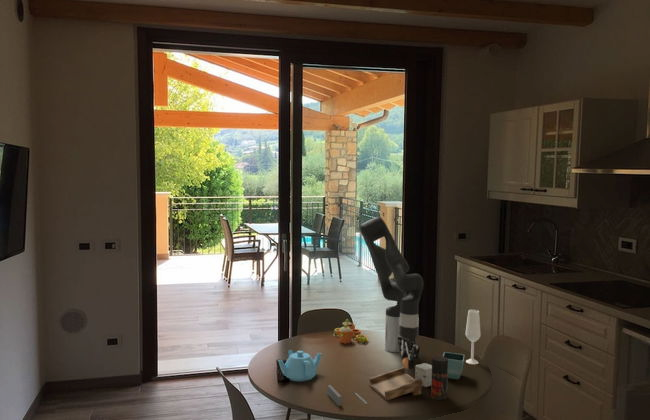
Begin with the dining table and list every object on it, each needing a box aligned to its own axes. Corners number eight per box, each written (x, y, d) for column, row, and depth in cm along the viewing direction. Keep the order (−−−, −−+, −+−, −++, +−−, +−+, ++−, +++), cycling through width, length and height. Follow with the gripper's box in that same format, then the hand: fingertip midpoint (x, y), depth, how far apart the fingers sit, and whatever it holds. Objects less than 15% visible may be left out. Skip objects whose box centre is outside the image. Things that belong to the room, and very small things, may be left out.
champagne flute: (463, 364, 230) (465, 312, 228) (465, 359, 236) (466, 308, 234) (479, 366, 227) (480, 313, 226) (480, 361, 233) (482, 310, 232)
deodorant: (429, 393, 197) (430, 356, 196) (444, 393, 197) (445, 355, 197) (433, 400, 191) (434, 361, 190) (449, 400, 192) (450, 361, 191)
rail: (330, 393, 196) (330, 384, 195) (341, 405, 185) (341, 396, 185) (327, 394, 195) (327, 385, 195) (338, 406, 185) (338, 396, 185)
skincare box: (414, 382, 208) (414, 365, 207) (424, 379, 211) (424, 362, 211) (425, 387, 203) (426, 369, 202) (435, 384, 206) (436, 366, 206)
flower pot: (464, 374, 217) (464, 354, 217) (462, 382, 209) (463, 361, 208) (443, 371, 220) (443, 351, 219) (441, 379, 212) (441, 358, 211)
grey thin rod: (351, 388, 201) (351, 387, 201) (368, 403, 187) (368, 403, 187) (349, 388, 201) (349, 388, 201) (365, 404, 187) (365, 403, 187)
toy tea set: (370, 345, 255) (371, 326, 255) (341, 347, 251) (341, 328, 251) (354, 330, 280) (355, 313, 280) (327, 332, 277) (328, 314, 276)
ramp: (403, 381, 209) (404, 366, 209) (422, 394, 196) (422, 379, 196) (368, 386, 203) (369, 371, 203) (385, 400, 190) (385, 385, 190)
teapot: (275, 380, 208) (275, 355, 207) (288, 368, 222) (288, 344, 221) (310, 385, 203) (311, 359, 203) (321, 372, 218) (322, 347, 217)
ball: (400, 367, 203) (400, 356, 202) (409, 365, 204) (410, 355, 204) (405, 370, 198) (405, 359, 198) (415, 369, 200) (415, 358, 200)
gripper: (392, 320, 206) (390, 361, 207) (409, 329, 192) (408, 374, 193) (408, 318, 208) (407, 359, 209) (426, 328, 195) (425, 371, 196)
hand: (407, 366), depth 201 cm, fingers closed on ball, 4 cm apart
